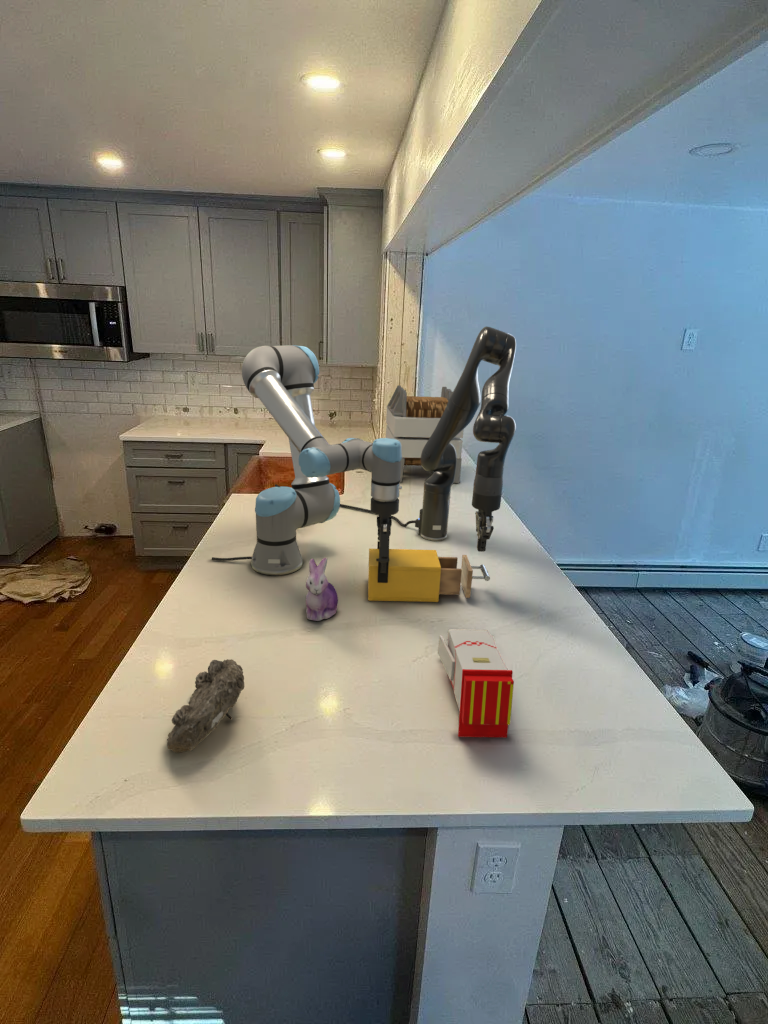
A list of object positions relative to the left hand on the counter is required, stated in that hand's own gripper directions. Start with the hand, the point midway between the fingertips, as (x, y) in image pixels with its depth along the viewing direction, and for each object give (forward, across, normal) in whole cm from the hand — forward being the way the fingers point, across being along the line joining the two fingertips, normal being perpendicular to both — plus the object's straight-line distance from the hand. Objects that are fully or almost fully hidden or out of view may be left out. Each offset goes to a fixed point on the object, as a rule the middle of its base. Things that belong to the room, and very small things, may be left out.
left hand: (382, 572), depth 157 cm
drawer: (+5, 0, -18) cm, 19 cm away
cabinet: (+6, 0, -6) cm, 8 cm away
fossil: (+6, -53, +34) cm, 63 cm away
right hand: (-7, 0, -27) cm, 28 cm away
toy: (+6, -44, -18) cm, 48 cm away
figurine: (+6, -13, +16) cm, 21 cm away
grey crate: (+6, +122, -22) cm, 124 cm away
